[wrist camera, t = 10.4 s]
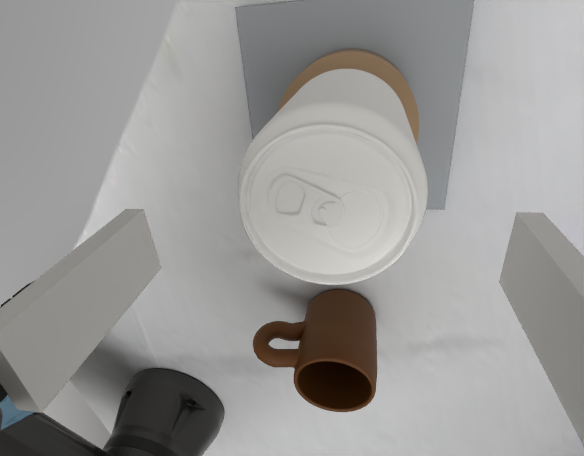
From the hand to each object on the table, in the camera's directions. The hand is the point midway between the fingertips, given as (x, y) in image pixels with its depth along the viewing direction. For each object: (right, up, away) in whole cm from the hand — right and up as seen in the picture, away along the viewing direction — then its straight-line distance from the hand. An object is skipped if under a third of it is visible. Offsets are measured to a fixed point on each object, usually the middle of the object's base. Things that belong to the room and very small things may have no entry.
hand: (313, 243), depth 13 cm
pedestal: (+4, +10, +16) cm, 19 cm away
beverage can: (+3, +7, +12) cm, 14 cm away
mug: (+3, -8, +27) cm, 29 cm away
